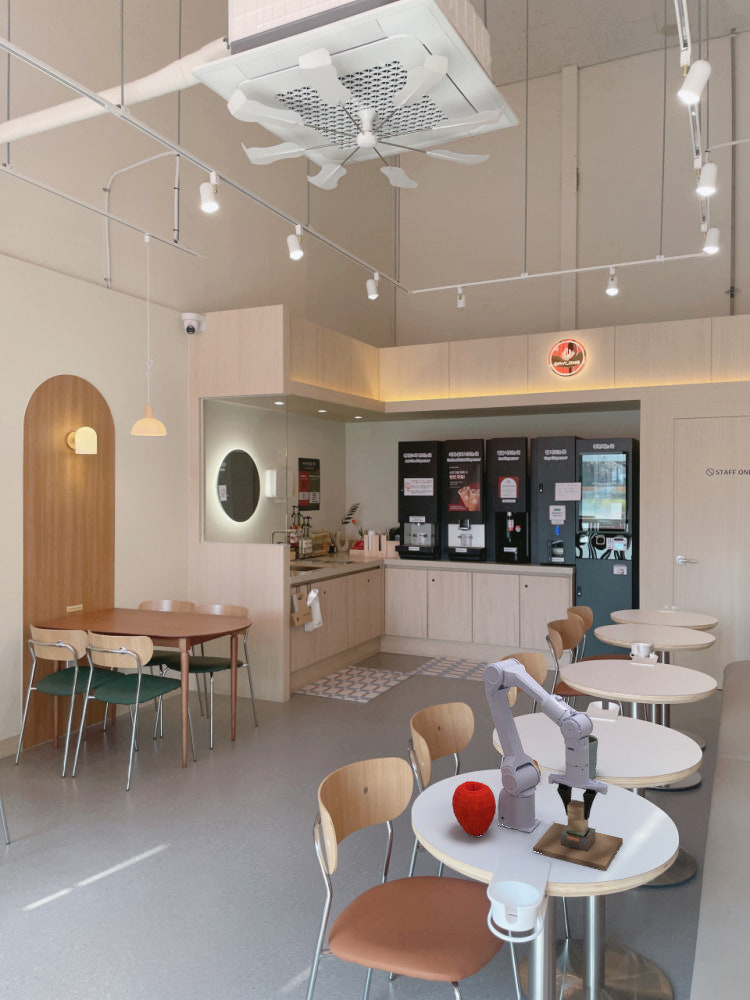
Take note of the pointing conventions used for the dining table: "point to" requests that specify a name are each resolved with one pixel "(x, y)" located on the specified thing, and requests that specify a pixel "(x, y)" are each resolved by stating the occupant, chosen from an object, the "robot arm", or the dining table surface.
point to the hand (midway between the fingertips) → (577, 816)
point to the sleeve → (578, 839)
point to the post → (577, 818)
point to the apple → (474, 807)
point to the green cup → (592, 756)
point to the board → (595, 857)
